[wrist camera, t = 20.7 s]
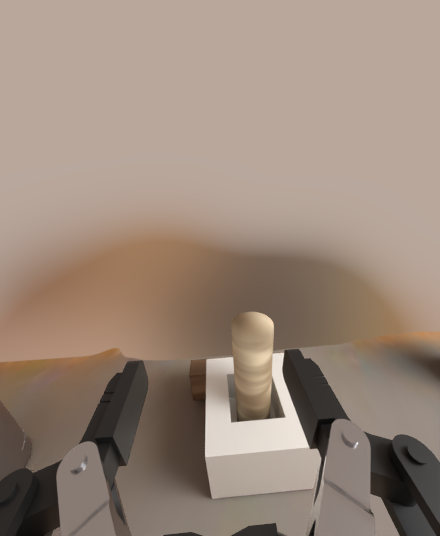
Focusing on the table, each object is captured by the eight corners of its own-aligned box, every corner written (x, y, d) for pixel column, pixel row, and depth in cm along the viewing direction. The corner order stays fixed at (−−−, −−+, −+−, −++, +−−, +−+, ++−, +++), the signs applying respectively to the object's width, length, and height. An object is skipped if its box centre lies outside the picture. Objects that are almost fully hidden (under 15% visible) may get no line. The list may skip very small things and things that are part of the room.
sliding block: (313, 488, 24) (324, 445, 20) (211, 498, 24) (205, 457, 20) (280, 391, 35) (283, 352, 31) (211, 397, 35) (206, 359, 31)
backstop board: (297, 390, 35) (300, 365, 33) (193, 400, 35) (189, 375, 32) (291, 375, 38) (293, 351, 35) (194, 384, 37) (190, 360, 35)
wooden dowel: (258, 446, 25) (258, 346, 18) (230, 420, 28) (222, 327, 21) (275, 416, 28) (281, 321, 21) (249, 396, 30) (247, 307, 24)
